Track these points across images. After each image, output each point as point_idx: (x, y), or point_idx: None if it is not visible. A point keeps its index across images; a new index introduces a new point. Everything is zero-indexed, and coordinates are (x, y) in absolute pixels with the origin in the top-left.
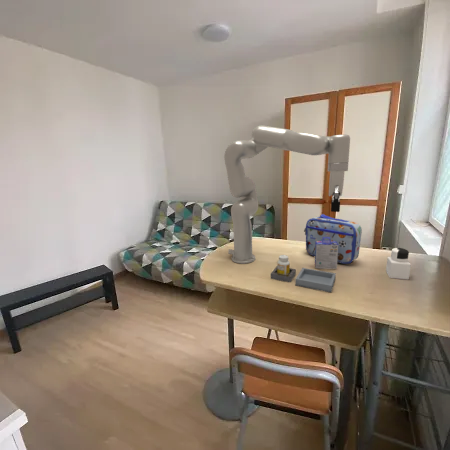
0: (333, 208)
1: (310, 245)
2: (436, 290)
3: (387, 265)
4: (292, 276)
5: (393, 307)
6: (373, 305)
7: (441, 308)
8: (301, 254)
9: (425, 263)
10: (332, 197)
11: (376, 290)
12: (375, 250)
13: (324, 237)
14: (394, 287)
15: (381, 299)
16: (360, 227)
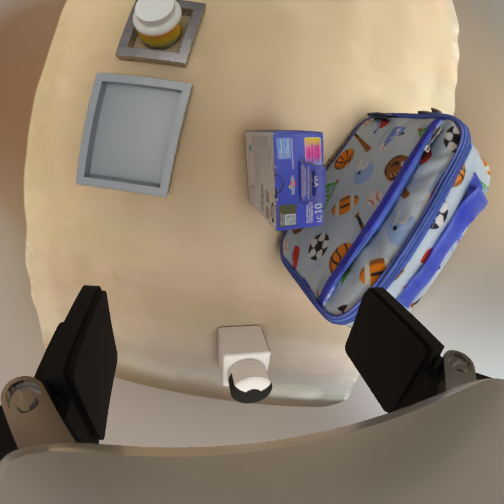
0: (57, 330)
1: (375, 126)
2: (180, 384)
3: (253, 338)
4: (140, 59)
5: None
6: (63, 272)
7: None
8: (362, 98)
9: (310, 386)
10: (17, 444)
11: (134, 290)
12: None
13: (321, 175)
14: (166, 327)
15: None
16: None
